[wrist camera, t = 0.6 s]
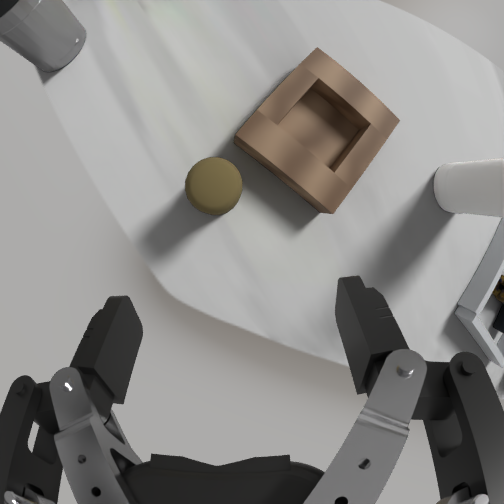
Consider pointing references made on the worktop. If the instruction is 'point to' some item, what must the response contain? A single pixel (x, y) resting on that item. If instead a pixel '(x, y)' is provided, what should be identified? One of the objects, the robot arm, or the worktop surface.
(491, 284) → the tray rim
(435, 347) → the worktop surface
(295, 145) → the socket block
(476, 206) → the bottle
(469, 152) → the worktop surface
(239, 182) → the cork
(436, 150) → the worktop surface
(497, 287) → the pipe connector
